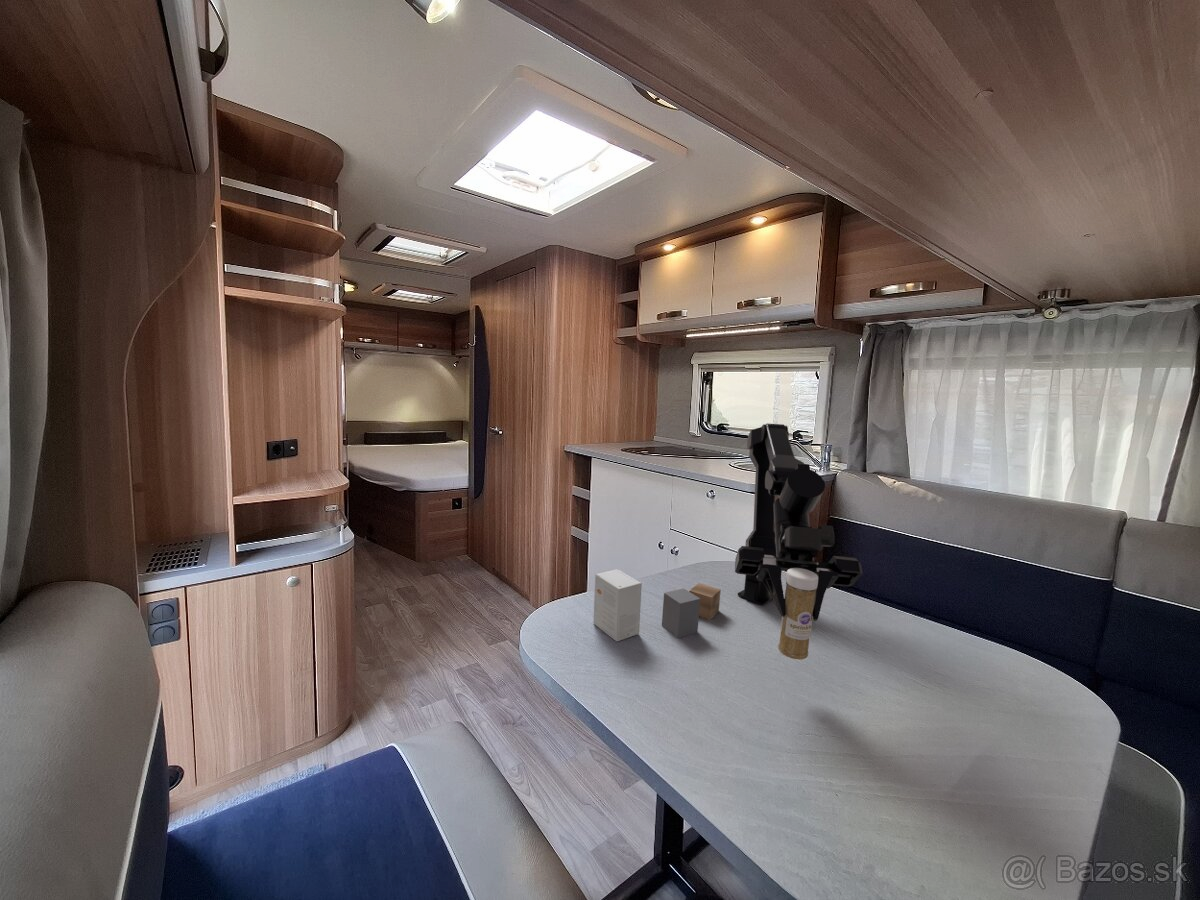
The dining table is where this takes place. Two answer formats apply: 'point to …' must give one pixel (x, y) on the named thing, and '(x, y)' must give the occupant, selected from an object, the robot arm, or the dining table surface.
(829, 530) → the robot arm
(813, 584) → the sprinkles bottle
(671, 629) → the gray block
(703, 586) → the walnut cube
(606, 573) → the small box
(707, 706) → the dining table surface
